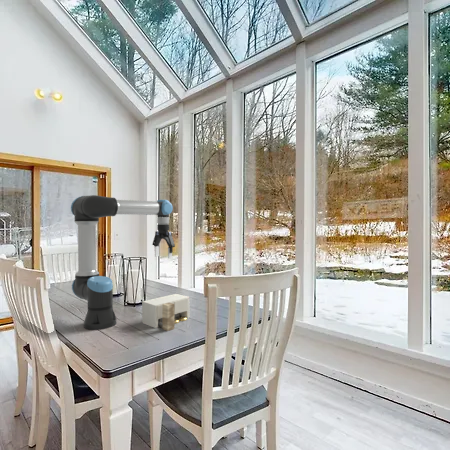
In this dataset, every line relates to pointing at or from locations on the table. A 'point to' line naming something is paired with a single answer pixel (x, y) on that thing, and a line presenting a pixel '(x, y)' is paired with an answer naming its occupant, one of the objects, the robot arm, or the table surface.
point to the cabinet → (154, 308)
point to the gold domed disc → (182, 318)
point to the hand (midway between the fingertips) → (163, 257)
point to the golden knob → (176, 321)
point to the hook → (168, 317)
